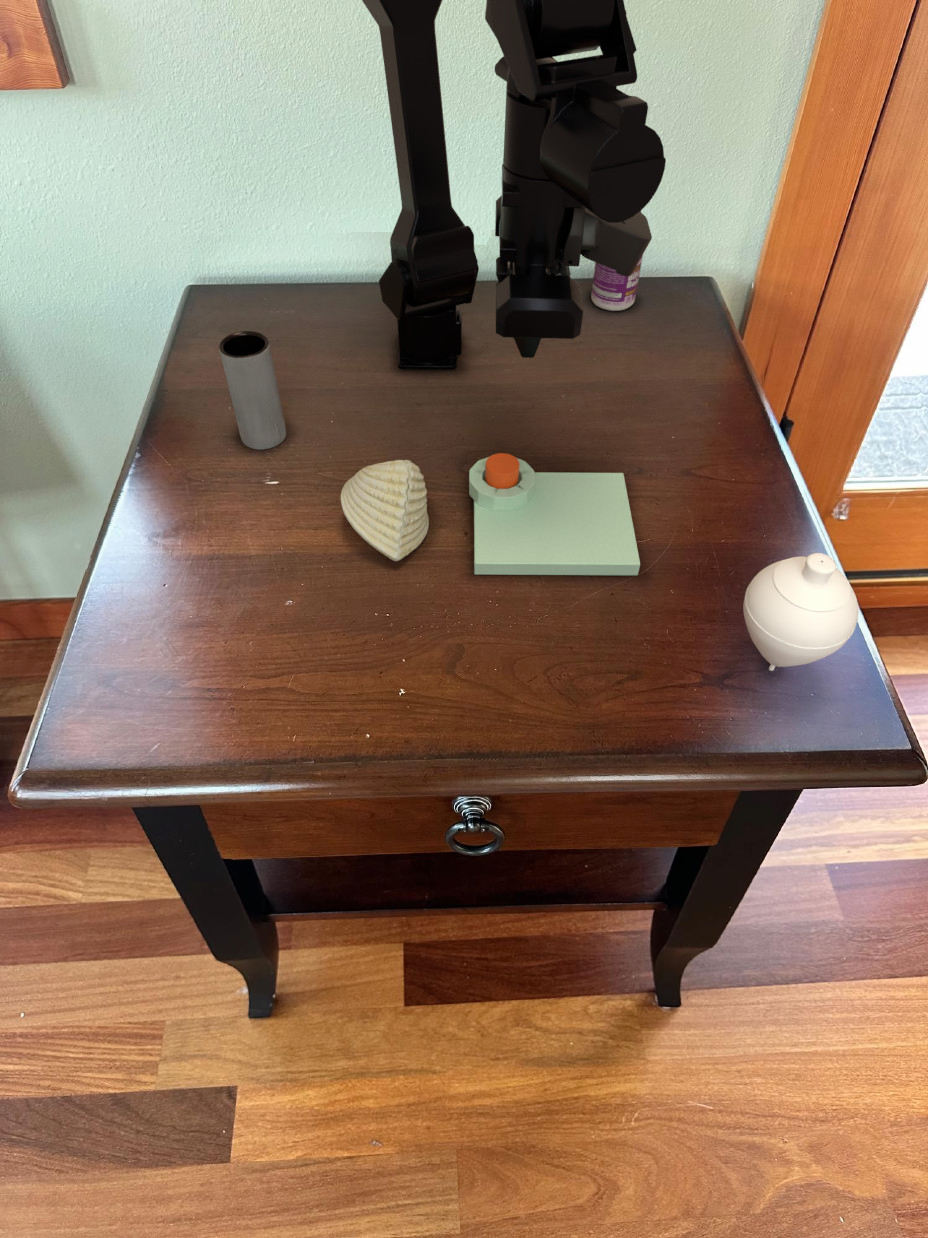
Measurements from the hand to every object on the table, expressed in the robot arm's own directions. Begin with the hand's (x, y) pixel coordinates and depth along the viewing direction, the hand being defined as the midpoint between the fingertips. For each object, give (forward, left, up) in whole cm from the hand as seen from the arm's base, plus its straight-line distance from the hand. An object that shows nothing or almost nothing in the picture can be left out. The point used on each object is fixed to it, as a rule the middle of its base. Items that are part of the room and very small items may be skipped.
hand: (527, 355), depth 72 cm
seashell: (-12, -9, -12) cm, 20 cm away
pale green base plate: (+3, -9, -12) cm, 15 cm away
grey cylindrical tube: (-25, +4, -12) cm, 28 cm away
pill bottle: (+13, +31, -12) cm, 35 cm away
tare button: (-2, -6, -9) cm, 11 cm away
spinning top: (+19, -25, -12) cm, 33 cm away
